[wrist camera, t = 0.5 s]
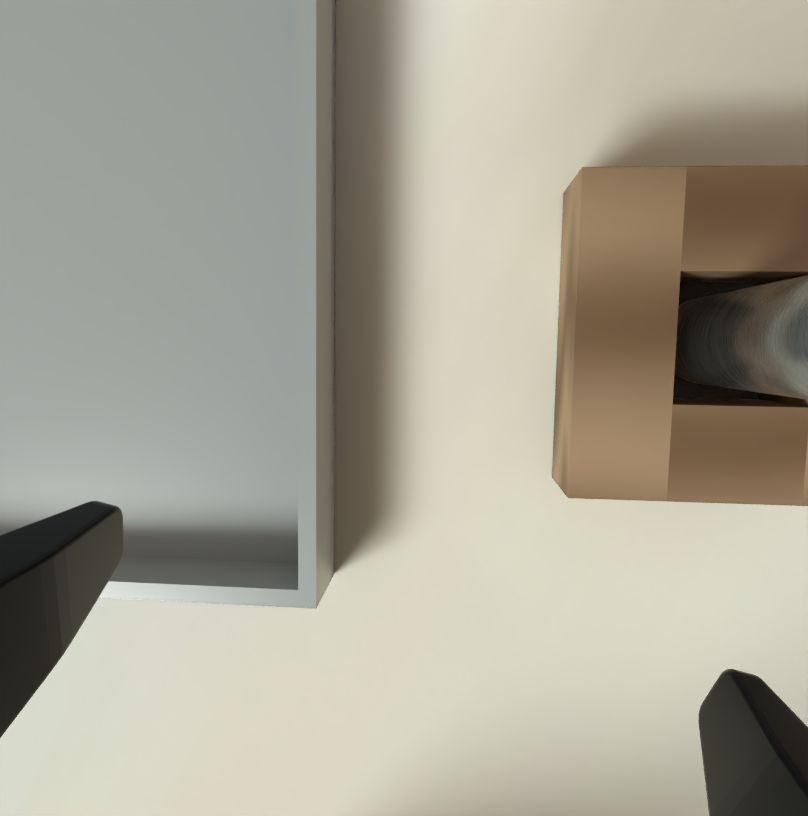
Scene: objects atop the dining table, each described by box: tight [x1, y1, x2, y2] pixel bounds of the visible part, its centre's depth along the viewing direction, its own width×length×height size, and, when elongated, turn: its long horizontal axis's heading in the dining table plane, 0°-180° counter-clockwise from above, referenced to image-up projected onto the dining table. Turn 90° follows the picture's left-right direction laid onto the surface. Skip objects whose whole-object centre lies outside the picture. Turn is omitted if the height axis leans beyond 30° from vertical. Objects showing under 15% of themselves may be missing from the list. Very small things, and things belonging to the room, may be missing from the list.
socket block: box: [552, 166, 808, 506], centre depth 19 cm, size 10×10×3 cm
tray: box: [0, 0, 336, 608], centre depth 21 cm, size 24×20×3 cm
